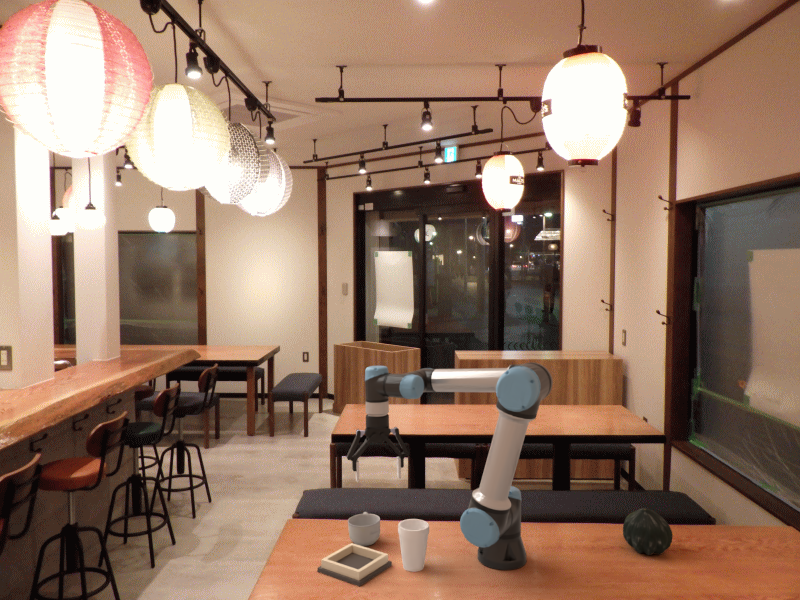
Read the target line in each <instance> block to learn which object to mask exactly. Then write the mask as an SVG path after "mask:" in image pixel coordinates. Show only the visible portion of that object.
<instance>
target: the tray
mask: <svg viewBox="0 0 800 600" xmlns="http://www.w3.org/2000/svg"><path fill="white" fill-rule="evenodd" d="M320 562H321V563H320V566H318V567H317V572H318V573H320V574H323V575H326V576H329V577H331V578H335V579H337V580H341V581H342V582H346V583H348V584H351V585H354V586H357V587H361V586H363V585H365V584H366V583H367V582H369V581H370V580H372V579H374V578H375V577H376V576H378V575H380V574H381V573H382V572H384V571H386V570H387V569H389V568H390V567H392V566H393V562H392V560H389V554H388V553H386V552H382V551H380V550H376V549H373V548H369V547H367V546H360V545H357V544H355V543H354V542H353V543H352V542H351V543H349V544H347V545H345V546H343V547H341V548H340V549H337V550H336V551H334V552H332V553H331V554H329V555H327V556H325V557H323V558H322V559H321V560H320Z"/></svg>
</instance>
